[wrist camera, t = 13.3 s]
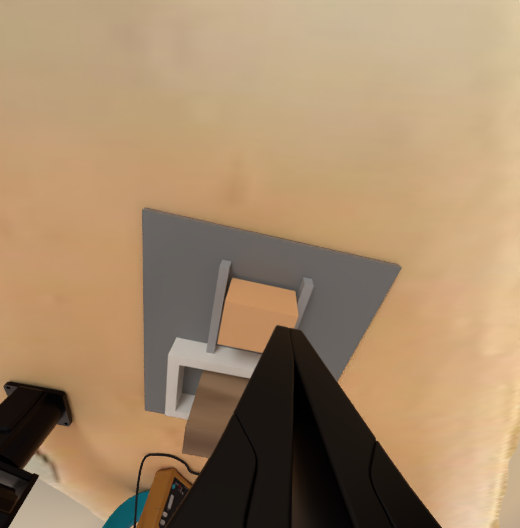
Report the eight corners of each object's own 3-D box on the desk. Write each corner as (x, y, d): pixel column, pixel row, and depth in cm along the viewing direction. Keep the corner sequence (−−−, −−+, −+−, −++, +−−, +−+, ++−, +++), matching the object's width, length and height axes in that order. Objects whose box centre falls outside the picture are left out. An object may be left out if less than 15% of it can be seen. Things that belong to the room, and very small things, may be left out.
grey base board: (304, 434, 30) (306, 458, 27) (146, 406, 29) (136, 428, 26) (398, 264, 18) (415, 282, 16) (145, 207, 17) (126, 218, 15)
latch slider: (282, 328, 21) (283, 357, 18) (224, 317, 21) (217, 343, 18) (295, 291, 19) (298, 316, 16) (232, 277, 19) (225, 301, 16)
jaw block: (266, 400, 26) (264, 467, 21) (201, 387, 26) (182, 453, 20) (275, 375, 24) (275, 443, 19) (205, 362, 24) (185, 427, 19)
